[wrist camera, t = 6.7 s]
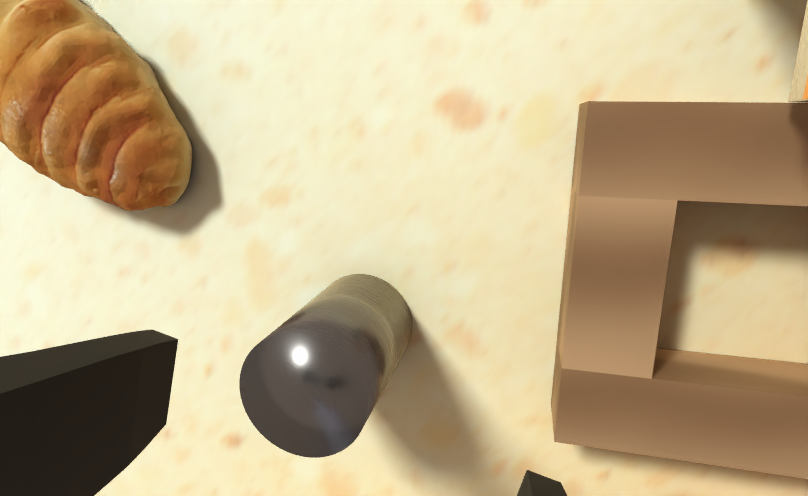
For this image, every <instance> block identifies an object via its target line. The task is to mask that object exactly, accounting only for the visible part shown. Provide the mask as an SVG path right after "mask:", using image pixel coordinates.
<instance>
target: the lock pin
mask: <svg viewBox="0 0 808 496" xmlns="http://www.w3.org/2000/svg"><path fill="white" fill-rule="evenodd" d="M788 102H808V0H807V5H806V10H805V16H804V21H803V26H802V32H801V37H800V42H799V48H798V53H797V58H796V63H795V69H794V74H793V79H792V85H791V90H790V95H789V101H788Z"/></svg>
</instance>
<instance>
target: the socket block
mask: <svg viewBox="0 0 808 496" xmlns="http://www.w3.org/2000/svg"><path fill="white" fill-rule="evenodd" d="M678 200H680V201H702V202H724V203H746V204H767V205H789V206H808V103H731V102H595V101H588V102H585V103H583V104H580V105H579V115H578V125H577V136H576V146H575V157H574V167H573V178H572V188H571V199H570V209H569V220H568V230H567V241H566V251H565V262H564V273H563V283H562V294H561V304H560V315H559V325H558V336H557V346H556V357H555V367H554V378H553V388H552V399H551V408H552V420H553V432H554V442H559V443H566V444H573V445H580V446H586V447H593V448H600V449H607V450H613V451H620V452H627V453H634V454H641V455H647V456H654V457H661V458H668V459H674V460H681V461H688V462H695V463H702V464H708V465H715V466H722V467H729V468H735V469H742V470H749V471H756V472H763V473H769V474H776V475H783V476H790V477H796V478H803V479H808V364H803V363H794V362H784V361H775V360H765V359H756V358H746V357H736V356H727V355H717V354H708V353H698V352H689V351H679V350H669V349H660V348H656V346H657V339H658V332H659V325H660V318H661V312H662V305H663V298H664V291H665V284H666V277H667V270H668V263H669V256H670V250H671V243H672V236H673V229H674V222H675V215H676V208H677V201H678Z"/></svg>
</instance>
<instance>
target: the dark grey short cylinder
mask: <svg viewBox="0 0 808 496" xmlns="http://www.w3.org/2000/svg"><path fill="white" fill-rule="evenodd" d="M411 333H412V319H411V314H410V311H409V308H408V306H407V304H406V302H405V300H404V298H403V297H402V296H401V294H400V293H399V292H398V291H397V290H396V289H395V288H394V287H393V286H391V285H390V284H389V283H387V282H386V281H384V280H382V279H380V278H377V277H374V276H371V275H365V274H354V275H349V276H345V277H342V278H340V279H338V280H337V281H335V282H334V283H332V284H331V285H330V286H329V287H327V288H326V289H325V290H324V291H322V292H321V293H320V294H319V295H318V296H316V297H315V298H314V299H313V300H311V301H310V302H309V303H308V304H307V305H305V306H304V307H303V308H302V309H300V310H299V311H298V312H297V313H295V314H294V315H293V316H292V317H291V318H289V319H288V320H287V321H286V322H284V323H283V324H282V325H281V326H280V327H278V328H277V329H276V330H275V331H273V332H272V333H271V334H270V335H268V336H267V337H266V338H265V339H264V340H262V341H261V342H260V343H259V344H257V345H256V346H255V347H254V348H253V349H252V350H251V351H250V353H249V354H248V356H247V357H246V359H245V361H244V363H243V366H242V370H241V374H240V394H241V399H242V403H243V406H244V408H245V411H246V413H247V415H248V417H249V419H250V420H251V422H252V423H253V425H254V426H255V427H256V428H257V430H258V431H259V432H260V433H261V434H262V435H263V436H264V437H265V438H266V439H267V440H269V441H270V442H271V443H273V444H274V445H276V446H277V447H279V448H281V449H283V450H285V451H287V452H289V453H292V454H295V455H299V456H303V457H325V456H330V455H333V454H336V453H338V452H340V451H342V450H344V449H345V448H347V447H348V446H349V445H350V444H352V443H353V442H354V440H355V439H356V438H357V437H358V435H359V434H360V432H361V430H362V428H363V426H364V425H365V423H366V421H367V419H368V417H369V415H370V414H371V412H372V410H373V408H374V406H375V404H376V403H377V401H378V399H379V397H380V395H381V393H382V391H383V390H384V388H385V386H386V384H387V382H388V380H389V379H390V377H391V375H392V373H393V371H394V369H395V367H396V366H397V364H398V362H399V360H400V358H401V356H402V355H403V353H404V351H405V349H406V347H407V345H408V343H409V341H410V338H411Z"/></svg>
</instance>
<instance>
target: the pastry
mask: <svg viewBox="0 0 808 496" xmlns="http://www.w3.org/2000/svg"><path fill="white" fill-rule="evenodd" d="M0 142H2V143H3V144H5V145H6V146H7V147H8V149H9V150H10V151H12V152H13V153H14V154H15V155H16V156H17V157H18V158H19V159H20V160H22V161H24V162H26V163H27V164H29V165H31V166H32V167H33V168H34V169H35V170H36V171H37V172H38V173H41V174H43V175H45V176H47V177H49V178H51V179H52V180H54V181H55V182H57V183H59V184H60V185H61V186H63V187H65V188H70V189H74V190H75V191H77V192H79V193H81V194H82V195H84V196H89V197H97V198H99V199H101V200H103V201H105V202H107V203H111V204H114V205H116V206H118V207H120V208H122V209H124V210H128V211H133V210H143V209H147V208H151V207H154V206H163V207H167V206H170V205H173V204H174V203H176V202H177V201H178V199H179V198H180V196H181V195H182V194H183V192H184V191H185V189H186V187H187V185H188V182H189V178H190V172H191V164H192V146H191V143H190V140H189V138H188V136H187V133H186V131H185V130H184V128H183V127H182V126H181V124H180V123H179V122H178V120H177V119H176V117H175V114H174V112H173V111H172V110H171V108H170V106H169V104H168V101H167V99H166V97H165V96H164V95H163V93H162V91H161V89H160V86H159V82H158V80H157V77H156V75H155V73H154V71H153V69H152V68H151V66H150V64H148V63H147V62H146V61H144V60H143V59H141V58H140V57H139V56H138V55H137V54H136V53H135V52H134V51H133V50H132V49H131V47H130V46H129V45H128V44H127V43H126V42H125V41H124V40H123V39H122V38H121V37H120V36H119V35H118V34H116V33H115V31H114V30H113V29H112V28H111V26H110V25H109V24H107V23H106V22H105V21H104V20H103V19H102V18H101V17H100V16H98V15H97V14H96V13H95V12H94V11H93V10H92V9H91V8H90V7H88V6H87V5H85V4H83V3H82V2H80V1H79V0H0Z"/></svg>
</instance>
